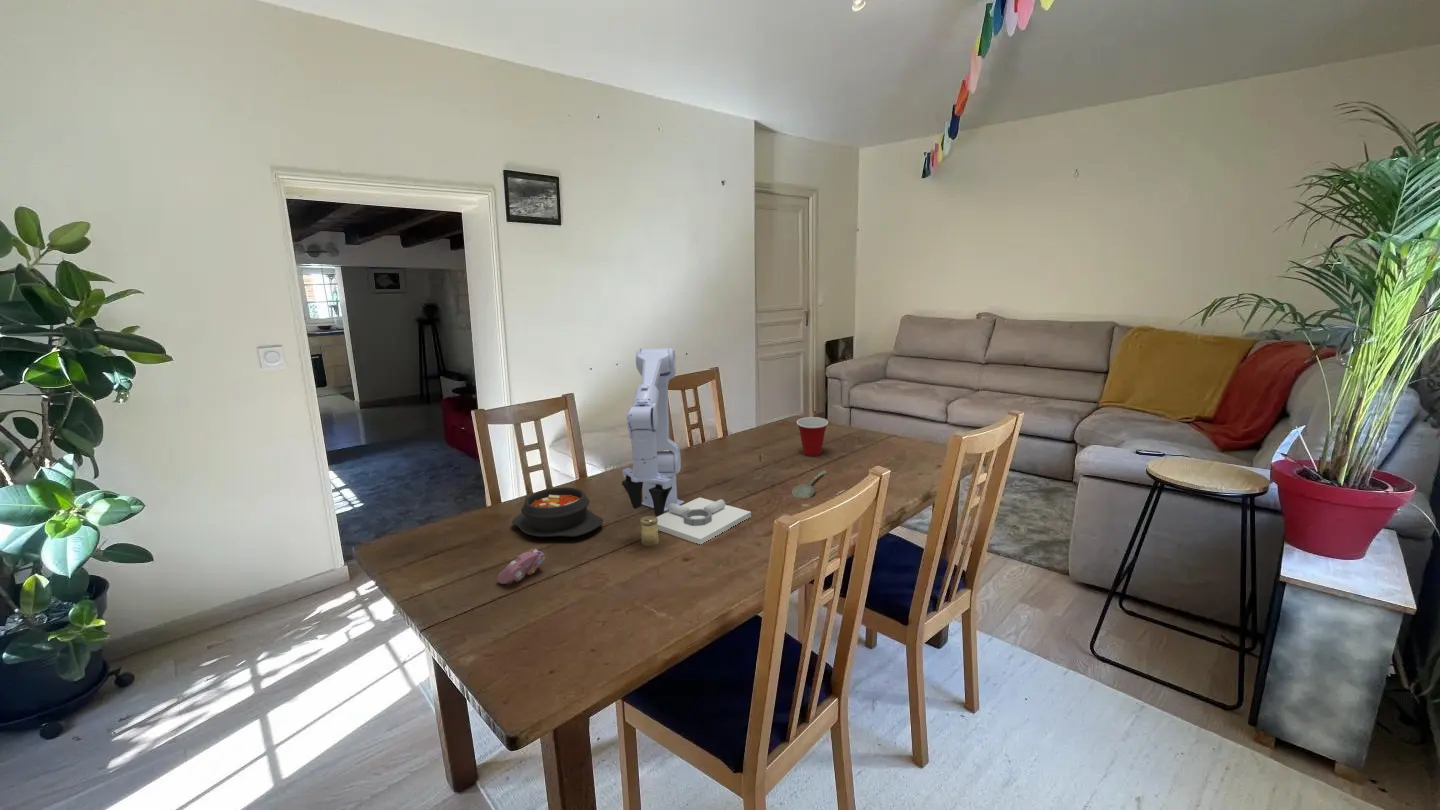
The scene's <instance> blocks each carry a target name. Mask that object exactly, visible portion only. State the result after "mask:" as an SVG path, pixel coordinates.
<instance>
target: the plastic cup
mask: <svg viewBox="0 0 1440 810" xmlns="http://www.w3.org/2000/svg"><path fill="white" fill-rule="evenodd" d="M796 424H797V426H798V430H799V434H800V441H801V446H802V451H803V455H805V456H807V457H817V456H820V455H821V454H822V449H823V444H824V439H825V432H826V428H827V426H828V424H829V421H828V419H825V418H822V417H817V416H815V417H814V416H810V417H809V416H807V417H802V418H799V419H797V420H796Z"/></svg>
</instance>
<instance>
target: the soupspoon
mask: <svg viewBox="0 0 1440 810" xmlns="http://www.w3.org/2000/svg"><path fill="white" fill-rule="evenodd" d="M825 475H827V472H826V470H822V471H821V472H819V474H818V475H816V476H815V477H814V478H813V479H811V480H810V481H809V482H808V483H802V484H798V485H796V486H794V487H793V488H792V490H791V495H792V496H793V497H795V498H800V499H810V498H812V497H813V495H814V494H815V492H816V487H814V486H813V485H812V483H814V482H815V481H816V480H817V479H818V478H819V477H822V476H825Z"/></svg>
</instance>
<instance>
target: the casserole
mask: <svg viewBox="0 0 1440 810" xmlns="http://www.w3.org/2000/svg"><path fill="white" fill-rule="evenodd" d="M589 505H590V499H589V497H587V496H586V493H585V492H584V491H583V490H582V489H579V488H575V487H552V488H547V489H543V490H540V491H537V492H535V493H532V494H531V495H529V496H527V497H526V498H525V500H524V503H523V505H522V507H521V509H520V511H521V513H519V514H518V515H516V516H515V517H514V518H513V519H512V520H511V523H512V524H513V525H514V526H516V527H518V528H519V529H520V531H521V532H522V533H524V534H527V535H529V536H534V537H541V538H548V537H553V538H554V537H569V538H570V537H571V538H572V537H573V538H574V537H580V536H583V535H585V534H589V533H591V532H593V531H595V530H596V529H598V528H599V527H600V526H602V524H603V522H604V519H603V517H601V516H598V515H596V514H594V513H593V512H592V511H591V510H589V509H588V506H589Z"/></svg>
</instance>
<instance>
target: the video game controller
mask: <svg viewBox="0 0 1440 810" xmlns="http://www.w3.org/2000/svg"><path fill="white" fill-rule="evenodd" d="M546 556H547V555H546V554H545V553H543V552H542V551H540V550H538V549H537V548H535V549H534V550H533V551H532V550H531V551H525V552H522V553H521V554H519V555H518V557H516V558H515V559H514V560H511V561H510V563H508V564H507V565H506V566H505V568H504V569H503V570H502V571H500V572H499V574H497V581H498V583H499V584H501V585H507V584H508V583H509V582H511V581H512V580H514V581H516V583H517V582H518V581H519V582H521V581H522V580H523V579H524V577H525V574H527V575H528V576H531V575H533V574H534V573H535V572H536V570H537V569H538V568H539V567H540V566H541V565H542V564H543V563H544V562H545V560H546V558H547V557H546Z"/></svg>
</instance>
